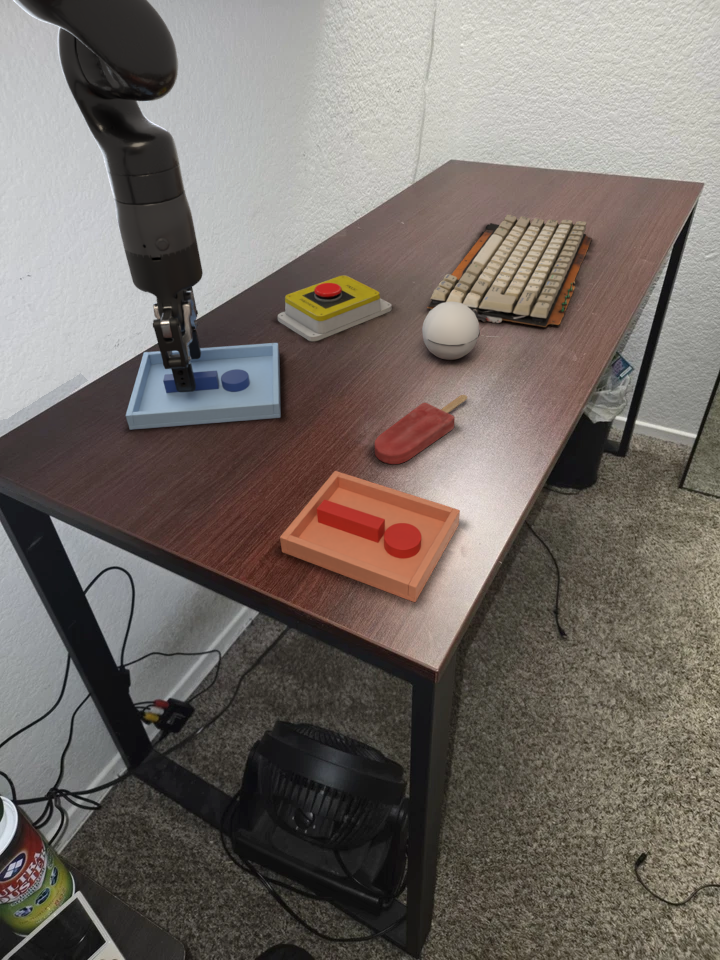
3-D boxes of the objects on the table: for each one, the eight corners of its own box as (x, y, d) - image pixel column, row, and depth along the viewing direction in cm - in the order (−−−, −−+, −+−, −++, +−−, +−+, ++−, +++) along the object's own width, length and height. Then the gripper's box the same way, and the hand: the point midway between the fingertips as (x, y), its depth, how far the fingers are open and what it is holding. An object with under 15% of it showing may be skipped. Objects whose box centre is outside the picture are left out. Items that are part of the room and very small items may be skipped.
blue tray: (129, 429, 76) (125, 415, 74) (147, 365, 87) (143, 352, 85) (280, 417, 77) (278, 403, 76) (279, 355, 88) (277, 342, 86)
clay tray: (281, 552, 61) (279, 537, 59) (335, 485, 68) (334, 470, 66) (415, 602, 56) (416, 587, 55) (458, 525, 63) (460, 509, 61)
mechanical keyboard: (487, 225, 122) (489, 206, 120) (593, 238, 116) (597, 219, 114) (424, 315, 96) (426, 293, 94) (557, 337, 90) (561, 314, 88)
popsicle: (481, 396, 76) (397, 459, 68) (480, 408, 77) (397, 472, 69) (450, 382, 78) (365, 441, 70) (449, 394, 79) (365, 454, 72)
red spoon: (312, 528, 62) (311, 515, 61) (330, 506, 64) (329, 492, 63) (412, 563, 59) (412, 549, 57) (426, 538, 61) (427, 524, 60)
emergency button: (271, 290, 93) (354, 262, 100) (275, 319, 96) (355, 289, 103) (310, 313, 87) (394, 281, 94) (312, 342, 90) (394, 309, 97)
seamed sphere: (410, 362, 86) (412, 310, 81) (436, 337, 90) (438, 287, 86) (482, 382, 82) (488, 328, 77) (504, 355, 86) (511, 303, 82)
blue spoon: (165, 397, 80) (162, 385, 79) (168, 382, 82) (165, 370, 81) (249, 390, 80) (247, 378, 79) (250, 376, 83) (248, 363, 82)
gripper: (133, 216, 74) (165, 346, 85) (110, 268, 64) (150, 409, 74) (200, 212, 75) (224, 342, 86) (188, 262, 64) (217, 404, 75)
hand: (189, 373), depth 80 cm, fingers open, 7 cm apart
